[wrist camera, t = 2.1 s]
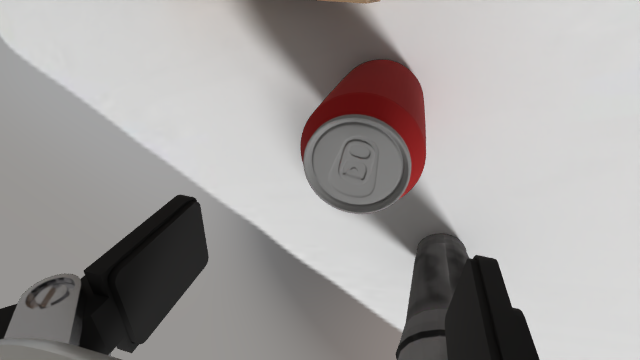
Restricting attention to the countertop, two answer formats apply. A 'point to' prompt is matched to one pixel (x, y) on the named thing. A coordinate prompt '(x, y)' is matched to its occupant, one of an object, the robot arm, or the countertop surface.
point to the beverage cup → (431, 297)
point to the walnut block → (353, 1)
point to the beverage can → (367, 139)
